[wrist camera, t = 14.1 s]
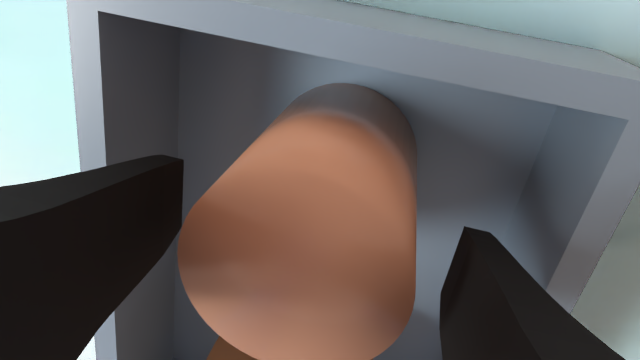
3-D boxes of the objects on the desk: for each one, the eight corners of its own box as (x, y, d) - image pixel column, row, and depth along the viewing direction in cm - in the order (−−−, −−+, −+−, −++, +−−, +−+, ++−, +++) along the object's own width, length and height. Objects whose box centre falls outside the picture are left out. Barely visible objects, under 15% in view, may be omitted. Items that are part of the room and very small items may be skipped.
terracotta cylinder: (399, 233, 16) (387, 395, 10) (266, 203, 17) (177, 339, 11) (434, 99, 14) (445, 202, 8) (279, 69, 15) (177, 144, 9)
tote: (437, 430, 21) (441, 552, 17) (165, 352, 23) (103, 446, 18) (600, 50, 13) (690, 90, 9) (170, -33, 15) (64, -33, 10)
